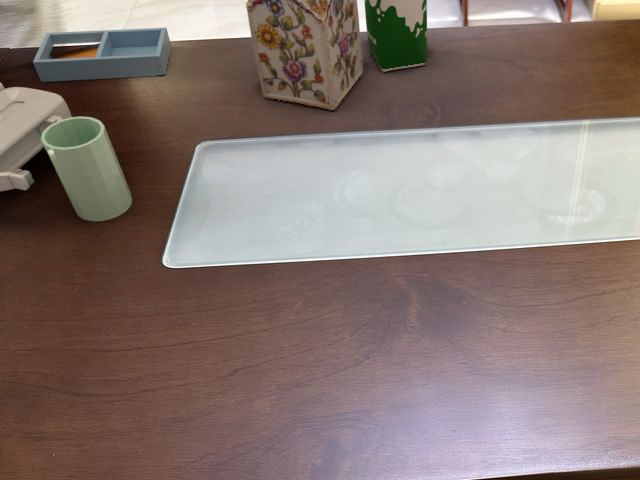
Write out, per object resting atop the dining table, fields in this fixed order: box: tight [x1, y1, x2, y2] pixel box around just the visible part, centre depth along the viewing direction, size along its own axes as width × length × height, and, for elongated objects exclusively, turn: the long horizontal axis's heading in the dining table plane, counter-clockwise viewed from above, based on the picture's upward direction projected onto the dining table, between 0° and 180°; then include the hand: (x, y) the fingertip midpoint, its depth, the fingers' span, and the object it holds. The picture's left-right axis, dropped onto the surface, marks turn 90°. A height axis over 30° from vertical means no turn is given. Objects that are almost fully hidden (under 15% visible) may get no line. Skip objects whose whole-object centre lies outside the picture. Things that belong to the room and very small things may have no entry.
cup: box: [41, 115, 133, 222], centre depth 85 cm, size 7×7×10 cm
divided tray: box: [32, 27, 173, 83], centre depth 110 cm, size 18×9×3 cm, turn 99°
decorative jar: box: [245, 0, 364, 109], centre depth 101 cm, size 12×12×18 cm
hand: (55, 158), depth 85 cm, fingers open, 8 cm apart
